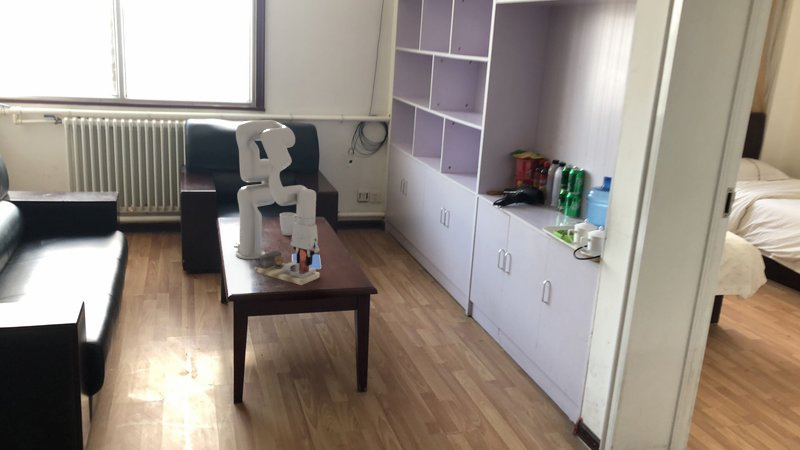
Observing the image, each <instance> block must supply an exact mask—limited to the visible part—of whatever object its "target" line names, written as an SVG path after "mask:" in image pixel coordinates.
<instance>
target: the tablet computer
mask: <svg viewBox="0 0 800 450" xmlns="http://www.w3.org/2000/svg"><path fill="white" fill-rule="evenodd" d="M295 260H297V254H296V253H292V254H291V262H293V261H295ZM321 260H322V259H321V254H316V253H315V254H314V255H313V258H312V265H309V267H311V268H315V269H316V271H317V270H322V261H321Z"/></svg>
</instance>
